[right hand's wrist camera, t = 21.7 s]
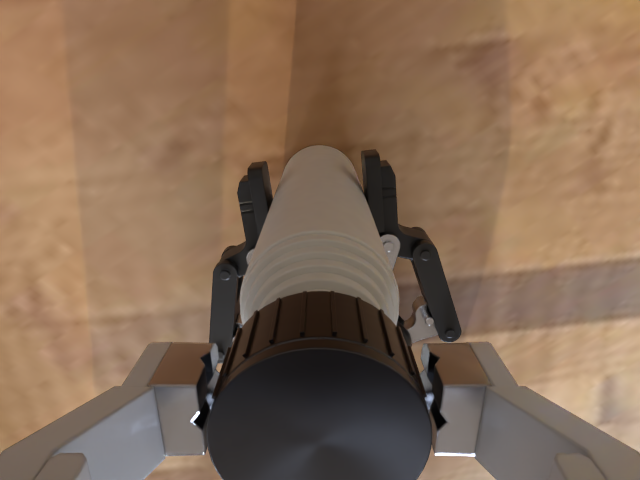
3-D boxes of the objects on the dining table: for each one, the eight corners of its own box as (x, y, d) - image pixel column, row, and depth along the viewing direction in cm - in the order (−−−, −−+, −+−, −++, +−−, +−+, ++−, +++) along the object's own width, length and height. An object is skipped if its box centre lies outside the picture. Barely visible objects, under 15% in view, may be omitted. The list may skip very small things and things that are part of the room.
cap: (413, 280, 9) (438, 336, 7) (413, 437, 11) (434, 519, 9) (212, 294, 9) (183, 354, 7) (240, 447, 11) (223, 531, 9)
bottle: (266, 186, 28) (152, 429, 9) (315, 128, 27) (305, 266, 8) (323, 232, 29) (330, 536, 10) (372, 179, 28) (489, 409, 9)
